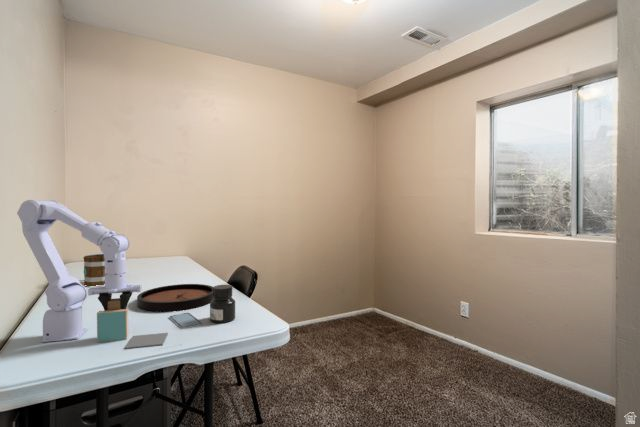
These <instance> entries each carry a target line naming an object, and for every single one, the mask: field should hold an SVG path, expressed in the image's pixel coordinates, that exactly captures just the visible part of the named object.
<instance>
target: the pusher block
mask: <svg viewBox="0 0 640 427" xmlns="http://www.w3.org/2000/svg"><path fill="white" fill-rule="evenodd" d="M120 309H121V301H120V297H119V298H115V297H114V298H111V299H110V300H109V301H108V310H120Z"/></svg>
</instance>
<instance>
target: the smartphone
mask: <svg viewBox="0 0 640 427" xmlns="http://www.w3.org/2000/svg"><path fill="white" fill-rule="evenodd" d="M168 318H170V319H169V320H171V321H172V322H173V323H174V324H175V325H176V326H177V327H178V326H179V327H178V328H179V329H182V330H185V329H188V328H189V329H190V328H192V327H198V326H201V325H203V322H202V321H200V319H198V318H197V317H196V316H194V315H193V314H192V313H191V312H183V313H178V314H172V315H169V317H168Z"/></svg>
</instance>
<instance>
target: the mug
mask: <svg viewBox="0 0 640 427" xmlns="http://www.w3.org/2000/svg"><path fill="white" fill-rule="evenodd" d="M83 275H84V277H83V278H84V280H83V281H84V283H83V286H84V285H87V286H96V285H104V284H105V258H104V254H103V253H99V254H98V253H96V254H89V255H88V254H87V255H85V256H83ZM87 286H86V287H87Z"/></svg>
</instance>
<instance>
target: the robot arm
mask: <svg viewBox="0 0 640 427" xmlns="http://www.w3.org/2000/svg"><path fill="white" fill-rule="evenodd" d="M17 216H18V218H19V219H20V221H21V226H22V234H23V236H24V238H25V240H26V242H27V244H28V245H29V248H30V250H31V251H32V253H33V256H34V258H35V259H36V262H37V263H38V265H39V267H40V269H41V271H42V272H43V274H44V277H45V278H46V280H47V283H48V285H47V286H46V289H45V290H44V294H45V295H46V304H47V306H48V308H49V309H47V310H46V311H45V312H44V314H43V318H42V340H41V342H42V343H47V342H58V341H69V340H77V339H79V338H80V337H81V336H83V335H84V334H85V333H86V332H87V331H88V328H83V305H84V301H86V299H87V297H88V296H95V295H98V297H97V299H98V301H99V302H100V304H101V306H102V307H103V311H107V310H108V301H109V300H110V299H112V296H113V294H119V298H120V301H121V309H128V303H129V301H130V299H131V297H132V295H133V293H142V290H143V287H142V286H143V285H142V284H127V261H126V260H127V258H126V257H127V256H126V255H127V252H126V251H127V250H128V249H129V247H130V241H129V238H128V237H127V236H126V235H124V234H122V233H120V234H116V231H114V230H110V229H108V228H106V227H105V226H103V223H102V222H96V221H92V222H89V221H87V220H85V218H83V217H81V216H79V215H78V214H77V213H75V212H74V211H72V210H70V209H69V208H68V207H66V205H65V204H62V203H60V202H59V201H57V200H52V199H51V200H35V199H26V200H24V201H23V202H22V203H21V204H20V205H19V209H18V211H17ZM57 221H60V222H61V223H64V224H65V225H67V226H69V227H71V228H74V229H76V230H78V231H79V232H81V237H82V238H83V239H85V240H87V241H88V242H90V243H93V244H94V245H96V246H97V247H99V249H100V251H101V253H102V254H104V258H105V286H97V287H89V288H88V289H87V288H86V286H84V284H82V283H81V281H80V280H79V279H78V278H76V277H74V276H72V275H70V273H69V271H68V269H67V268H66V267H67V266H66V265H65V263H64V262H63V260H62V258H61V255H60V254H59V252H58V250H57V248H56V246H55V244H54V242H53V240H52V239H51V238H52V237H50V234H49V233H48V232H49V230H50V228H52V226H53V225H54V224H55V223H56V222H57Z"/></svg>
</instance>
